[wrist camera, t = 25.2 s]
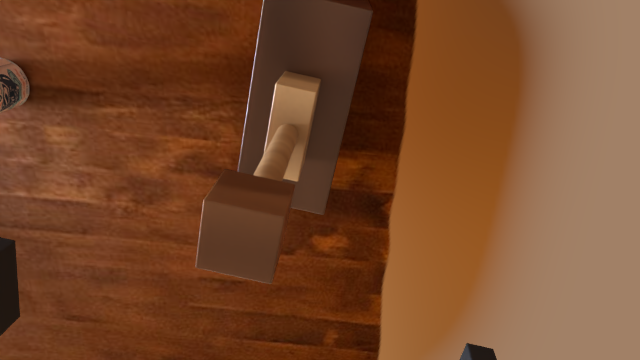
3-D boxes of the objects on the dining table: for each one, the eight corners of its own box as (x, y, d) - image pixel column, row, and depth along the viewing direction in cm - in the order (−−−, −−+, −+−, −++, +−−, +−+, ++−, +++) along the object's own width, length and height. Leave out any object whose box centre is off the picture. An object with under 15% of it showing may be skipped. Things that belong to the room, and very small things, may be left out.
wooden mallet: (281, 69, 32) (207, 161, 16) (325, 79, 32) (292, 180, 16) (267, 151, 34) (190, 299, 19) (307, 160, 34) (265, 315, 19)
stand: (369, 0, 41) (373, 10, 30) (332, 159, 47) (323, 215, 36) (290, -18, 41) (264, -14, 30) (263, 143, 47) (233, 195, 36)
